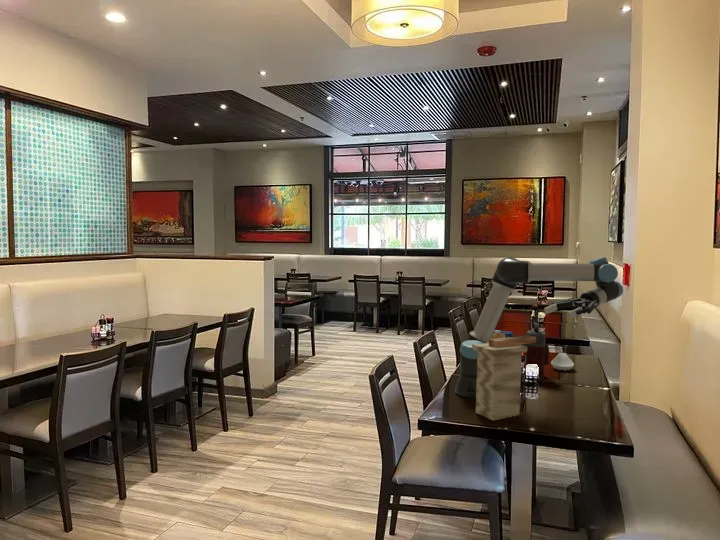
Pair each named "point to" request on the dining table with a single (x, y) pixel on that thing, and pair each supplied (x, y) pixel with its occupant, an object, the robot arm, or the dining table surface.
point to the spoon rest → (562, 362)
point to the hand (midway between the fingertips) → (556, 313)
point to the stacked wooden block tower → (498, 380)
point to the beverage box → (501, 334)
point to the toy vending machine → (538, 350)
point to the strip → (512, 341)
